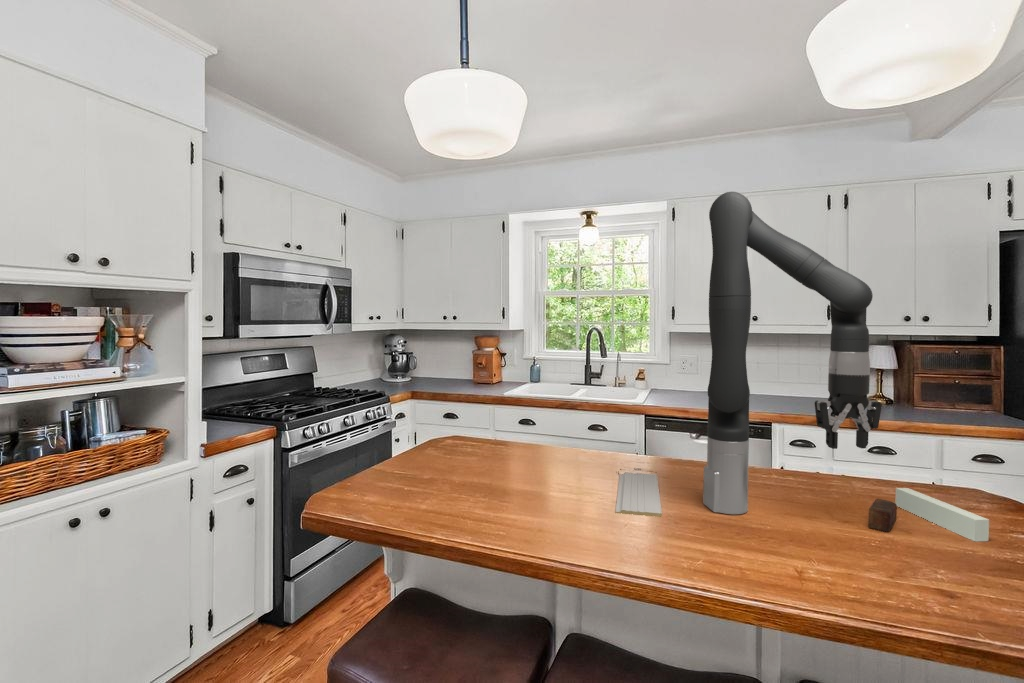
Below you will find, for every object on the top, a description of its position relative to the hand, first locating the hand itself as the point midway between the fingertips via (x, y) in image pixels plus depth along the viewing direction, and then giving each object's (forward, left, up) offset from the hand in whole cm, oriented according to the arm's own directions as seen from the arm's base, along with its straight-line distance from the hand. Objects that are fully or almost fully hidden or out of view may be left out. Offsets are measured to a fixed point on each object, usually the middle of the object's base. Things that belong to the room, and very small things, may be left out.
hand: (846, 447), depth 110 cm
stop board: (+23, +1, -18) cm, 29 cm away
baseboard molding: (-40, +24, -18) cm, 50 cm away
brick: (+9, +1, -18) cm, 20 cm away
